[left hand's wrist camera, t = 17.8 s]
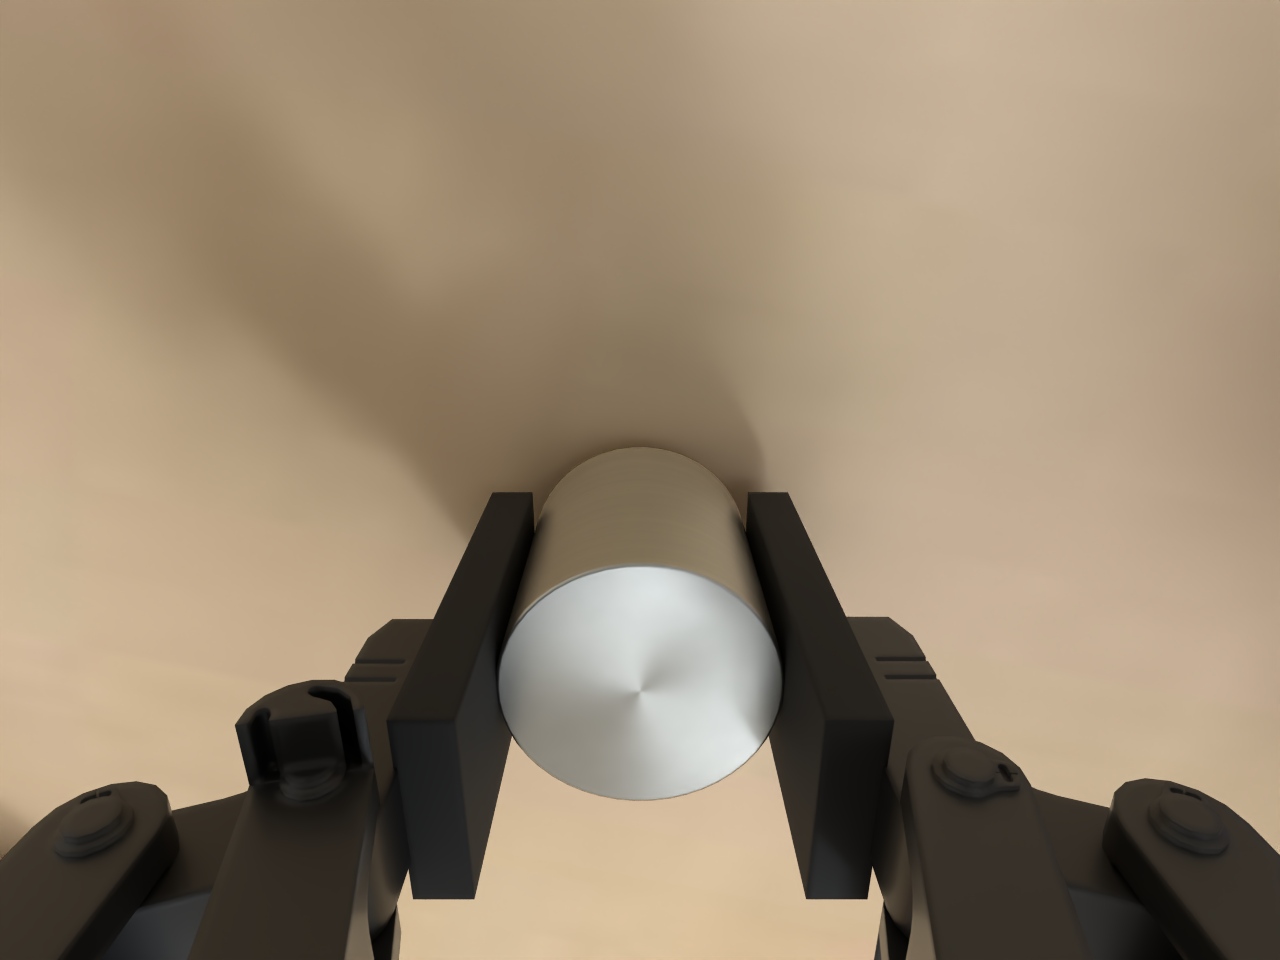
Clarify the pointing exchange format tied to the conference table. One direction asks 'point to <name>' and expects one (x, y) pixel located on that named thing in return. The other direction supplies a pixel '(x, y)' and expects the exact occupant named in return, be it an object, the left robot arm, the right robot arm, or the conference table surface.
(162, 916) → the left robot arm
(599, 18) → the conference table surface
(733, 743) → the tin
